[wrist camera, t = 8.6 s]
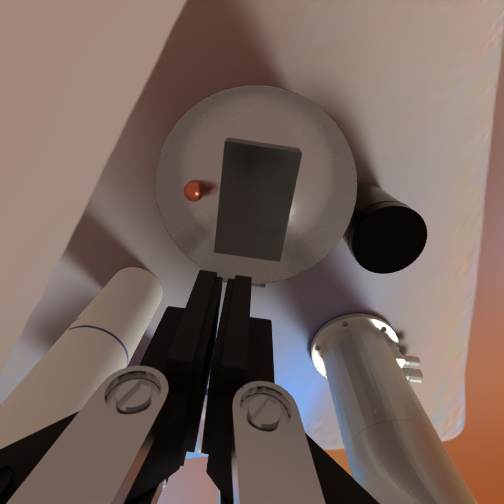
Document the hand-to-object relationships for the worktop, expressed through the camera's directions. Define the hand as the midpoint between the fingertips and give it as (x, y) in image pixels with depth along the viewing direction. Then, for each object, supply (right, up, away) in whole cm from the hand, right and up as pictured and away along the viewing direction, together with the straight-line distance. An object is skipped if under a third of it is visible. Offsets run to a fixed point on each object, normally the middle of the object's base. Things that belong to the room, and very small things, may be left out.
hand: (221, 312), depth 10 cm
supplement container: (+14, +7, +28) cm, 32 cm away
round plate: (+1, +6, +15) cm, 16 cm away
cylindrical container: (-15, -3, +34) cm, 37 cm away
